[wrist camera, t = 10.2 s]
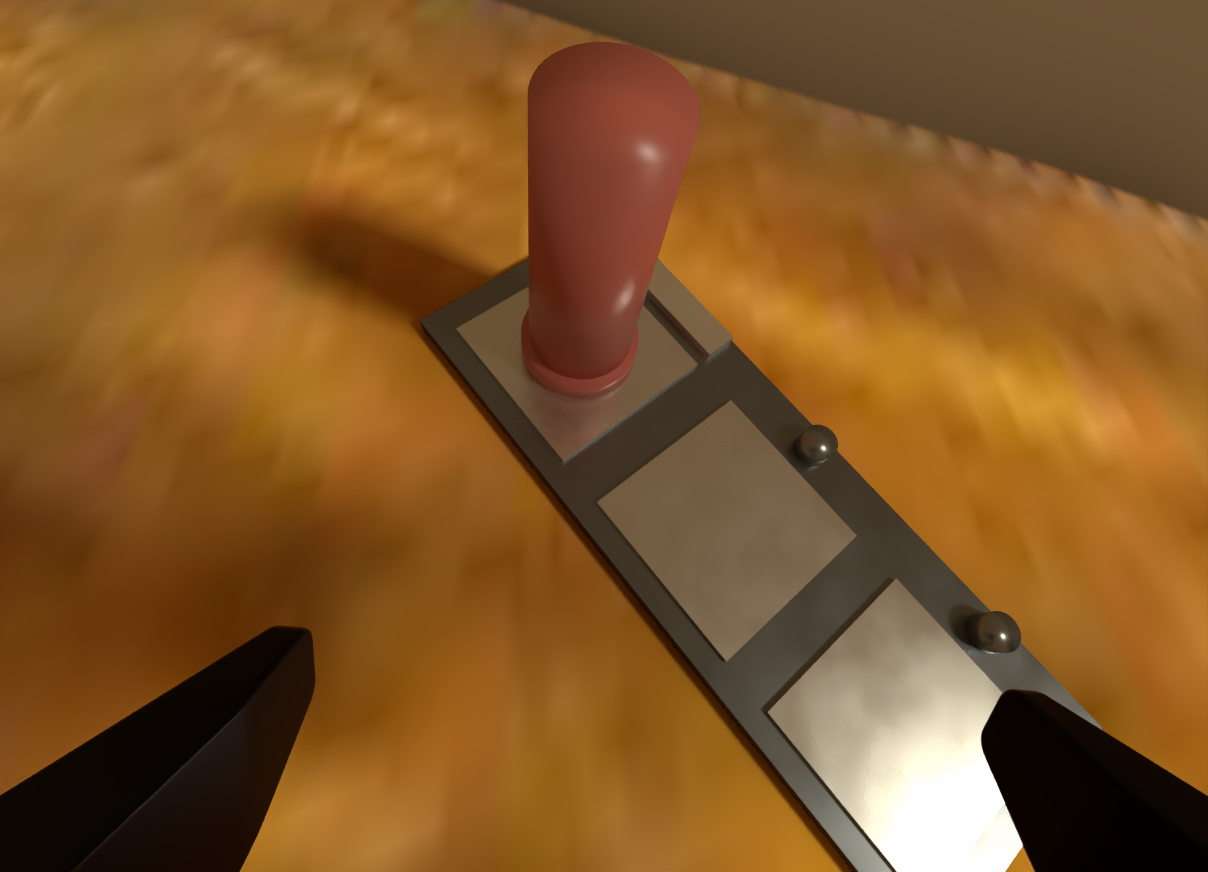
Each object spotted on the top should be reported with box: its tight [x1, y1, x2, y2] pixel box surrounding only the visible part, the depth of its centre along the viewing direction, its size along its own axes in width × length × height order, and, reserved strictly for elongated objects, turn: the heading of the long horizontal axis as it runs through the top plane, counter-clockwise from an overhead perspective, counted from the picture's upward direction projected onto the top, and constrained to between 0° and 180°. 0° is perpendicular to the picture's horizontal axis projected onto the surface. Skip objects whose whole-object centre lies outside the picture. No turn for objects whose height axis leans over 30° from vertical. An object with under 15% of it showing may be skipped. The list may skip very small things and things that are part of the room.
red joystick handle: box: [521, 42, 700, 398], centre depth 18 cm, size 5×5×11 cm
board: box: [420, 258, 1103, 872], centre depth 22 cm, size 10×28×1 cm, turn 39°
